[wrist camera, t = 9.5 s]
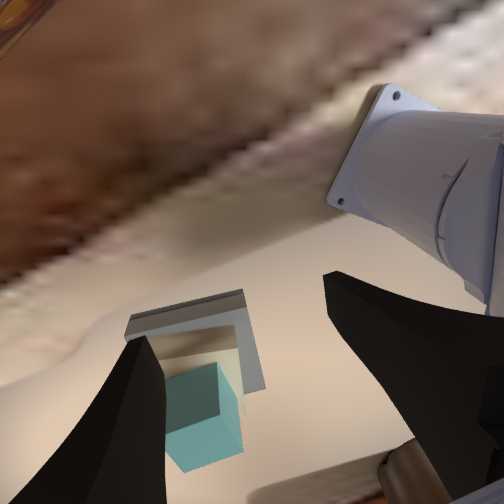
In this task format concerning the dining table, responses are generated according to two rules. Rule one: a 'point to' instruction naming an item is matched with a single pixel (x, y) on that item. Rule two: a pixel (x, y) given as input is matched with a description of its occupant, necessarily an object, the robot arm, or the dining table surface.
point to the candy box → (19, 19)
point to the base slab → (206, 316)
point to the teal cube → (201, 418)
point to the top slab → (201, 355)
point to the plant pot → (411, 477)
